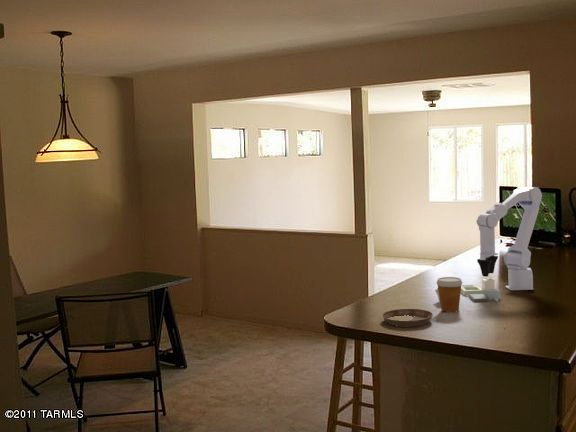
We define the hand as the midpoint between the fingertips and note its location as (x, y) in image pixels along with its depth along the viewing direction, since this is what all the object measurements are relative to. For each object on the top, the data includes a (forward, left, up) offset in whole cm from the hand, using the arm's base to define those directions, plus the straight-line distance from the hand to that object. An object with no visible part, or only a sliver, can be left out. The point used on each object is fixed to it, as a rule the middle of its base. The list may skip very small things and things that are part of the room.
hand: (488, 274), depth 251 cm
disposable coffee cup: (+21, +26, -8) cm, 35 cm away
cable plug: (+1, +11, -8) cm, 14 cm away
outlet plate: (+6, -4, -8) cm, 11 cm away
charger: (0, 0, -8) cm, 8 cm away
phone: (+6, +9, -8) cm, 14 cm away
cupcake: (+19, +12, -8) cm, 24 cm away
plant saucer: (+39, +40, -9) cm, 57 cm away
